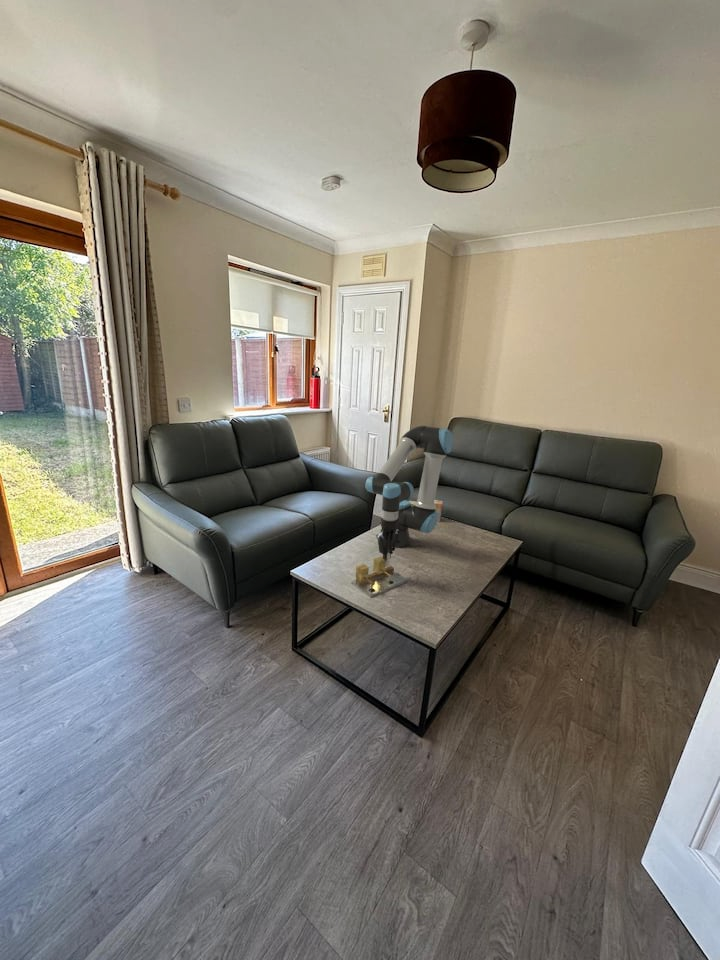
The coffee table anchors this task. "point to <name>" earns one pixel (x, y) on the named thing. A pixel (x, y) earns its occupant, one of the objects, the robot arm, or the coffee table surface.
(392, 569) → the beam
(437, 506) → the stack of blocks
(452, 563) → the coffee table surface
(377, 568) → the slider leg
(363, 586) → the hole plate
